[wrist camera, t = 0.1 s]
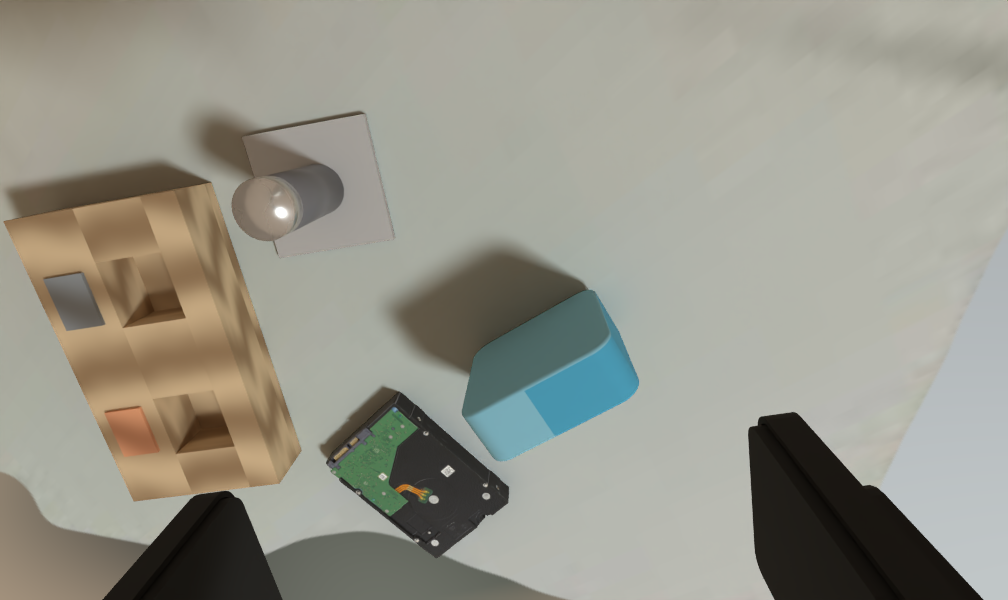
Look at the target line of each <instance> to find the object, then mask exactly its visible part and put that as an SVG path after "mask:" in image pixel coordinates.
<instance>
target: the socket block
mask: <svg viewBox="0 0 1008 600" xmlns="http://www.w3.org/2000/svg"><path fill="white" fill-rule="evenodd" d="M4 224H5V226H6V228H7V230H8V232H9V234H10V236H11V239H12V241H13V243H14V245H15V247H16V249H17V251H18V254H19V256H20V258H21V260H22V262H23V264H24V267H25V269H26V271H27V273H28V275H29V277H30V279H31V282H32V284H33V286H34V288H35V290H36V292H37V294H38V297H39V299H40V301H41V303H42V305H43V307H44V309H45V312H46V314H47V316H48V318H49V320H50V322H51V325H52V327H53V329H54V331H55V333H56V335H57V337H58V340H59V342H60V344H61V346H62V348H63V350H64V352H65V355H66V357H67V359H68V361H69V363H70V365H71V367H72V370H73V372H74V374H75V376H76V378H77V380H78V383H79V385H80V387H81V389H82V391H83V393H84V395H85V398H86V400H87V402H88V404H89V406H90V408H91V410H92V413H93V415H94V417H95V419H96V421H97V423H98V425H99V428H100V430H101V432H102V434H103V436H104V438H105V440H106V443H107V445H108V447H109V449H110V451H111V453H112V456H113V458H114V460H115V462H116V464H117V466H118V468H119V471H120V473H121V475H122V477H123V479H124V481H125V483H126V486H127V488H128V490H129V492H130V494H131V496H132V498H133V501H141V500H149V499H157V498H165V497H173V496H182V495H190V494H198V493H206V492H214V491H222V490H230V489H238V488H247V487H255V486H263V485H271V484H279V483H280V482H281V480H282V479H283V477H284V476H285V474H286V473H287V472H288V470H289V469H290V467H291V466H292V464H293V463H294V461H295V460H296V458H297V457H298V455H299V454H300V452H301V451H302V450H301V447H300V444H299V441H298V438H297V435H296V432H295V429H294V426H293V423H292V421H291V418H290V415H289V412H288V409H287V406H286V403H285V400H284V397H283V394H282V391H281V388H280V385H279V382H278V379H277V376H276V373H275V370H274V367H273V364H272V361H271V358H270V355H269V352H268V349H267V346H266V343H265V340H264V337H263V334H262V331H261V328H260V326H259V323H258V320H257V317H256V314H255V311H254V308H253V305H252V302H251V299H250V296H249V293H248V290H247V287H246V284H245V281H244V278H243V275H242V272H241V269H240V266H239V263H238V260H237V257H236V254H235V251H234V248H233V245H232V242H231V239H230V236H229V233H228V231H227V228H226V225H225V222H224V219H223V216H222V213H221V210H220V207H219V204H218V201H217V198H216V195H215V192H214V189H213V186H212V183H205V184H200V185H194V186H189V187H183V188H177V189H172V190H166V191H161V192H155V193H150V194H144V195H139V196H133V197H127V198H122V199H116V200H111V201H105V202H100V203H94V204H89V205H83V206H77V207H72V208H66V209H61V210H55V211H51V212H46V213H41V214H36V215H31V216H27V217H22V218H17V219H12V220H7V221H4Z"/></svg>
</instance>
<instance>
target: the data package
mask: <svg viewBox="0 0 1008 600" xmlns="http://www.w3.org/2000/svg"><path fill="white" fill-rule="evenodd" d="M638 386H639V379H638V377H637V374H636V372H635V369H634V367H633V365H632V362H631V360H630V357H629V355H628V353H627V350H626V348H625V345H624V343H623V340H622V338H621V336H620V333H619V331H618V329H617V328H616V326H615V324H614V323H613V321H612V319H611V318H610V316H609V314H608V313H607V311H606V309H605V308H604V306H603V304H602V303H601V301H600V299H599V298H598V296H597V294H596V293H595V292H594V291H593V290H586V291H582V292H580V293H577V294H576V295H574V296H572V297H570V298H568V299H567V300H565V301H563V302H561V303H559V304H558V305H556V306H554V307H552V308H551V309H549V310H547V311H545V312H543V313H542V314H540V315H538V316H536V317H535V318H533V319H531V320H529V321H527V322H526V323H524V324H522V325H520V326H519V327H517V328H515V329H513V330H511V331H510V332H508V333H506V334H504V335H503V336H501V337H499V338H497V339H495V340H494V341H492V342H490V343H488V344H487V345H485V346H484V347H483V348H481V349H480V350H479V351H478V352H477V353H476V355H475V356H474V359H473V363H472V368H471V372H470V377H469V381H468V386H467V390H466V395H465V399H464V404H463V408H462V415H463V417H464V418H465V420H466V421H467V422H468V424H469V425H470V427H471V428H472V429H473V431H474V432H475V433H476V435H477V436H478V438H479V439H480V440H481V442H482V443H483V444H484V446H485V447H486V449H487V450H488V451H489V453H490V454H491V455H492V457H493V458H494V459H495V460H497V461H507V460H510V459H512V458H514V457H516V456H518V455H520V454H522V453H524V452H526V451H528V450H530V449H532V448H534V447H536V446H538V445H540V444H542V443H544V442H546V441H548V440H550V439H552V438H554V437H556V436H558V435H560V434H562V433H564V432H566V431H568V430H570V429H571V428H573V427H575V426H577V425H579V424H581V423H583V422H585V421H587V420H589V419H591V418H593V417H595V416H597V415H599V414H601V413H603V412H605V411H607V410H609V409H611V408H613V407H615V406H617V405H619V404H621V403H623V402H625V401H626V400H628V399H629V398H630V397H631V396H632V395H633V394H634V393H635V392H636V390H637V388H638Z"/></svg>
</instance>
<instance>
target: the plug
mask: <svg viewBox="0 0 1008 600" xmlns="http://www.w3.org/2000/svg"><path fill="white" fill-rule="evenodd" d="M343 197H344V187H343V183H342V181H341V179H340V177H339V175H338V174H337V173H336V172H335V171H334V170H333V169H331V168H330V167H328V166H325V165H322V164H312V165H308V166H304V167H299V168H295V169H291V170H287V171H283V172H279V173H274V174H270V175H266V176H262V177H258V178H254V179H250V180H247V181H245V182H243V183H242V184H241V185H240V186H239V187H238V188H237V189H236V191H235V193H234V195H233V198H232V212H233V216H234V218H235V220H236V222H237V224H238V225H239V227H240V228H241V229H242V230H243V231H244V232H245V233H246V234H248V235H249V236H251V237H253V238H255V239H258V240H262V241H273V240H277V239H279V238H281V237H283V236H285V235H287V234H289V233H291V232H293V231H295V230H297V229H299V228H301V227H303V226H305V225H307V224H309V223H311V222H313V221H315V220H317V219H319V218H321V217H323V216H325V215H327V214H329V213H331V212H333V211H334V210H336V209H337V208H338V207H339V206H340V204H341V203H342V200H343Z"/></svg>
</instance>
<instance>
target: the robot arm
mask: <svg viewBox="0 0 1008 600" xmlns="http://www.w3.org/2000/svg"><path fill="white" fill-rule="evenodd" d="M748 439H749V457H750V474H751V492H752V509H753V527H754V545H755V554H756V559H757V563H758V566H759V569H760V571H761V574H762V576H763V578H764V580H765V582H766V584H767V586H768V588H769V590H770V591H771V593H772V595H773V597H774V599H775V600H983V599H982V598H981V597H980V595H979V594H978V593H977V592H976V591H975V590H974V589H973V588H972V587H971V586H970V585H969V584H968V583H967V582H966V581H965V580H964V578H963V577H962V576H961V575H960V574H959V573H958V572H957V571H956V570H955V569H954V568H953V567H952V566H951V565H950V564H949V562H948V561H947V560H946V559H945V558H944V557H943V556H942V555H941V554H940V553H939V552H938V551H937V550H936V549H935V548H934V546H933V545H932V544H931V543H930V542H929V541H928V540H927V539H926V538H925V537H924V536H923V535H922V534H921V533H920V531H919V530H917V528H916V527H915V526H914V525H913V524H912V523H911V522H910V521H909V520H908V519H907V518H906V516H905V515H904V514H903V513H902V512H901V511H900V510H899V509H898V508H897V507H896V506H895V505H894V504H893V503H892V502H891V500H890V499H889V498H888V497H887V496H886V495H885V494H884V493H883V492H881V491H880V490H879V489H878V488H877V487H874V486H871V485H866V486H862V485H861V484H860V482H859V481H858V480H857V479H856V478H855V477H854V476H853V475H852V473H851V472H850V471H849V470H848V469H847V468H846V467H845V466H844V465H843V463H842V462H841V461H840V460H839V459H838V458H837V457H836V456H835V455H834V453H833V452H832V451H831V450H830V449H829V448H828V447H827V446H826V445H825V443H824V442H823V441H822V440H821V439H820V438H819V437H818V436H817V434H816V433H815V432H814V431H813V430H812V429H811V428H810V427H809V426H808V424H807V423H806V422H805V421H804V420H803V419H802V418H801V417H800V416H799V415H798V414H797V413H795V412H791V413H784V414H777V415H769V416H762V417H760V418H759V420H758V426H753V427H750V428H749V431H748ZM103 600H282V597H281V595H280V593H279V590H278V587H277V585H276V583H275V580H274V578H273V575H272V573H271V570H270V568H269V566H268V563H267V560H266V558H265V556H264V553H263V551H262V548H261V546H260V543H259V541H258V538H257V536H256V534H255V531H254V529H253V526H252V524H251V521H250V519H249V516H248V514H247V512H246V509H245V507H244V504H243V502H242V501H241V500H240V499H239V498H236V497H234V495H233V494H232V493H231V492H229V491H221V492H213V493H206V494H199V495H196V496H194V497H193V498H192V499H190V500H189V502H188V503H187V504H186V505H185V506H184V507H183V508H182V509H181V511H180V512H179V513H178V514H177V515H176V516H175V517H174V519H173V520H172V521H171V522H170V523H169V524H168V525H167V527H166V528H165V529H164V530H163V531H162V532H161V533H160V535H159V536H158V537H157V538H156V539H155V540H154V541H153V543H152V544H151V545H150V546H149V547H148V549H146V551H145V552H144V553H143V554H142V555H141V556H140V557H139V559H138V560H137V561H136V562H135V563H134V564H133V566H132V567H131V568H130V569H129V570H128V571H127V572H126V574H125V575H124V576H123V577H122V578H121V579H120V580H119V582H118V583H117V584H116V585H115V586H114V587H113V588H112V590H111V591H110V592H109V593H108V594H107V596H105V597H104V599H103Z"/></svg>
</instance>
